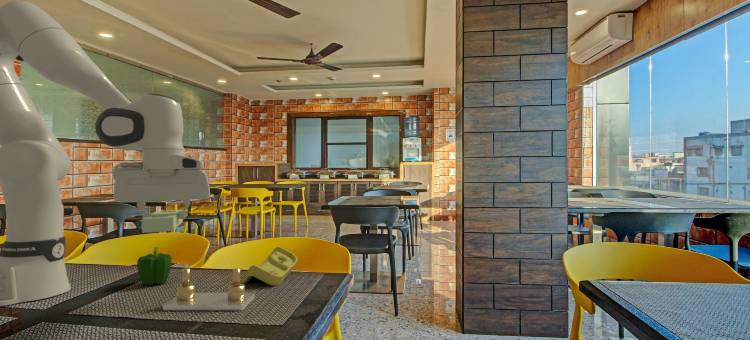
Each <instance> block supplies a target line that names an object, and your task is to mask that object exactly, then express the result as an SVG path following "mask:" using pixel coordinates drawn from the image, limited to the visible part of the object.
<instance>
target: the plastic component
mask: <svg viewBox="0 0 750 340" xmlns="http://www.w3.org/2000/svg"><path fill="white" fill-rule="evenodd" d="M297 262H298V257H297V256H296V255H295V254H294V253H293V252H291V251H289V250H287V249H286V248H284V247H281V246H276V247H275V248H274V249H273V250H272V251H271V253H270V254H269V255H268V256H267V257H266V259H265V260H264V261H263V262H262V263H261V264H260V265H259V266H258V265H257V264H252V265H250V267H249V268H248V269H247V270H246V272H245V274H244V275H243V276H242V278H241V279H240V284H244V285H246V284H247V283H248V282H250V281H251V280H252V279H253V278H255V279H257V280H260V281H262V282H263V283H265V284H267V285H270V286H273V287H274V286H278V285H280V284H282V282H283V281H284V280H285V279H286V278H287V277H288V276H289V275H290V274H291V272H292V271H293V269H294V268H295V266H296V265H297Z"/></svg>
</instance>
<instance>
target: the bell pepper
mask: <svg viewBox="0 0 750 340" xmlns="http://www.w3.org/2000/svg"><path fill="white" fill-rule="evenodd" d="M159 249H160V247H159V246H154V248H153V253H149V254H146V255H143V256H139V257H138V259H137V261H136V263H137V264H136V268H137V273H138V275H139V279H140V282H141V284H143V285H144V286H154V285H162V284H165V283H166V282H167V281H168V280H169V276H170V274H171V270H172V269H171V268H172V262H173V261H172V256H171V254H170V253H168V254H167V253H162V252H160V253H158V250H159Z"/></svg>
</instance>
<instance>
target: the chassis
mask: <svg viewBox="0 0 750 340" xmlns="http://www.w3.org/2000/svg"><path fill="white" fill-rule="evenodd" d="M190 271H191V268H190V267H186V268H185V267H184V268H182V269H181V284H179V285H177V286H176V296H175V297H173V298H172V299H170V300H169V301H167V302H165V303H164V304H162V311H243V310H244V309H246V307H247V306H249V304H250V303H251V302H253V300H254V299H255V298H256V293H255V292H245V291H246V290H245V289H246V284H242V283H240V282H241V268H238V267H236V268H235V267H234V268H233V269H232V284H229V285H227V292H195V291H196V290H195V289H196V287H195V286H196V285H195V284H194V283H191V272H190Z"/></svg>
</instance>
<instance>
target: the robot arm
mask: <svg viewBox="0 0 750 340" xmlns="http://www.w3.org/2000/svg"><path fill="white" fill-rule="evenodd" d="M15 61H20V62H25V63H26V64H27V65H28V66H29V67H30V68H32V69H33V70H34V71H36V73H38V74H39V75H41V76H43V77H44V78H45V79H46V80H49V81H50V82H53V83H56V84H58V85H60V86H63V87H66V88H68V89H71V90H72V91H75V92H77V93H80V94H82V95H84V96H86V97H87V98H89V99H90V100H92V102H95V103H96V104H97V105H98V106H99V107H100V109H102V110H103V111H102V112H100V114H99V115H98V116H97V119H96V121H95V126H94V127H95V134H96V136H97V138H98V139H99V141H100V143H101V142H102V143H103V144H104V145H106V146H109V147H111V148H115V149H122V150H128V151H129V150H130V151H134V152H139V153H141V158H142V159H141V161H142V162H140V161H139V162H138V161H137V162H121V163H120V164H117V165H115V166H114V167H113V170H112V177H113V180H114V187H113V200H114V201H116V203H136V207H137V209H138V210H139V211H140V213H141V214H142V219H143V218H145V217H147V216H149V215H151V214H152V212H148V211H147V210H146V209H145V206H146V205H147V204H146V203H147V202H162V201H163V202H165V201H167V202H168V201H182V204H183V206H184V207H183V208H182V209H181V210H182V211H179V212H178V215H179V216H178V219H183V220H185V219H186V212H187V210H188V208H189V206H190V205H191V200H206V199H208V198H209V197H210V195H211V189H210V181H209V177H208V174H207V173H206V171H205V170H203V169H204V168H205V167H204V166H205V163H204V161H203V160H202V159H199V158H194V157H193V156H189V155H188V156H187V155H185V149H184V144H183V135H184V117H183V110H182V106H181V104H180V102H179V101H178V100H176V99H175V98H173V97H170V96H168V95H165V94H160V93H159V94H158V93H153V92H152V93H145V94H143V95H142V96H141V98H139V99H137V100H135V101H132V100H131V99H130V98H129V97H128V96H127V95H126V94H125V93H124V92H123V91H122V90H121V89H119V88H118V87H117V85H115V84H114V83H113V82H112V80H110V79H109V77H107V75H106V74H105V73H104V72H103V71H102V70H101V69H100V67H98V66H97V64H96V63H95V62H94V60H92V58H91V57H89V55H88V54H87V53H86V51H85V50H84V49H83V48H82V47H81V46H80V44H79V43H77V41H76V40H75V39H74V38H73V36H71V34H70V33H69V32H68V31H67V30H66V29H65V28H64V27H63V26H62V25H61V24H60V23H59V22H58V21H57V20H55V19H54V18H53V17H52V16H51V15H49V14H48V13H47V12H46V11H45V10H43V9H42V8H41V7H39V6H38V5H36V4H34V3H32V2H30V1H26V0H25V1H24V0H11V1H9V2H6V3H4V4H2V5H1V6H0V146H1V147H0V189H1V192H2V197H3V202H4V205H5V216H6V217H5V218H6V219H5V222H6V223H5V225H6V228H5V231H6V232H5V233H6V234H5V235H6V240H5V241H4V242H3V243H0V307H3V306H9V305H10V306H11V305H14V304H20V303H25V302H32V301H38V300H43V299H47V298H51V297H55V296H58V295H62V294H64V293H67V292H69V291H70V290H71V289H72V286H71V284H70V281H69V278H68V277H69V276H68V274H67V268H66V261H65V253H66V250H67V249H66V245H67V243H66V242H67V240H66V236H65V235H64V229H65V228H64V215H65V212H64V211H65V210H64V204H63V203H62V199H61V196H60V194H61V193H60V190H59V189H60V188H59V184H58V182H59V181H61V180H63V178H65V177H66V176H67V175H68V174H69V172H70V170H71V168H72V160H71V158H70V156H69V154H68V153H67V151H66V150H65V149H64V147H63V146H62V144H61V143H60V141H59V140H58V138H57V137H56V135H55V134H54V132H53V131H52V130H51V129H50V127H49V126H48V124H47V123H46V121H45V120H44V119H43V118H42V116H41V115H40V113H39V111H38V110H37V107H36V105H35V104H34V102H33V100H32V99H31V97H30V94H29V93H28V91H27V90H26V87H25V85H24V84H23V83H22V81H21V79H20V77H19V76H18V74H17V72H16V70H15V67H14V66H15Z"/></svg>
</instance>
